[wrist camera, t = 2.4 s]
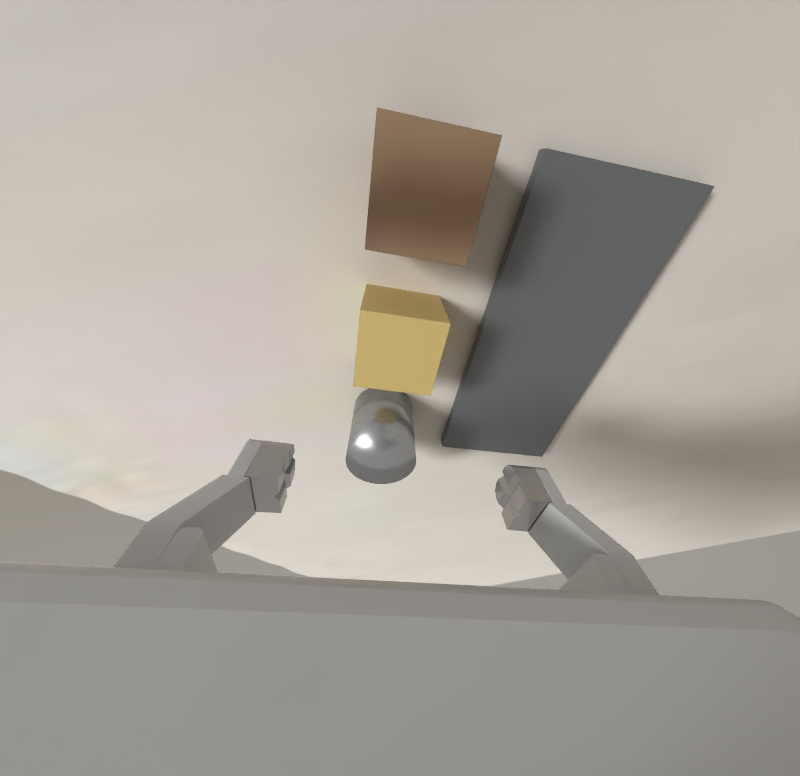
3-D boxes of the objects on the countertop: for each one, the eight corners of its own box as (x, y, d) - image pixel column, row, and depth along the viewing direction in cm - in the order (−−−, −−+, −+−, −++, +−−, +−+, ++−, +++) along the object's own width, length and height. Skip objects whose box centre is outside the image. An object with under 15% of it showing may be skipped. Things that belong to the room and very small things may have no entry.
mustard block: (366, 283, 20) (360, 309, 16) (438, 295, 20) (450, 323, 16) (360, 349, 23) (353, 386, 18) (423, 358, 23) (430, 395, 19)
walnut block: (381, 128, 15) (376, 107, 11) (473, 148, 16) (502, 135, 12) (371, 234, 18) (364, 249, 14) (449, 248, 19) (466, 266, 14)
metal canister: (357, 381, 24) (348, 432, 19) (416, 389, 25) (422, 440, 20) (352, 426, 27) (343, 480, 22) (406, 432, 28) (409, 486, 23)
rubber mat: (539, 149, 16) (546, 148, 15) (701, 186, 17) (714, 186, 16) (441, 440, 28) (442, 446, 27) (538, 450, 29) (542, 456, 29)
